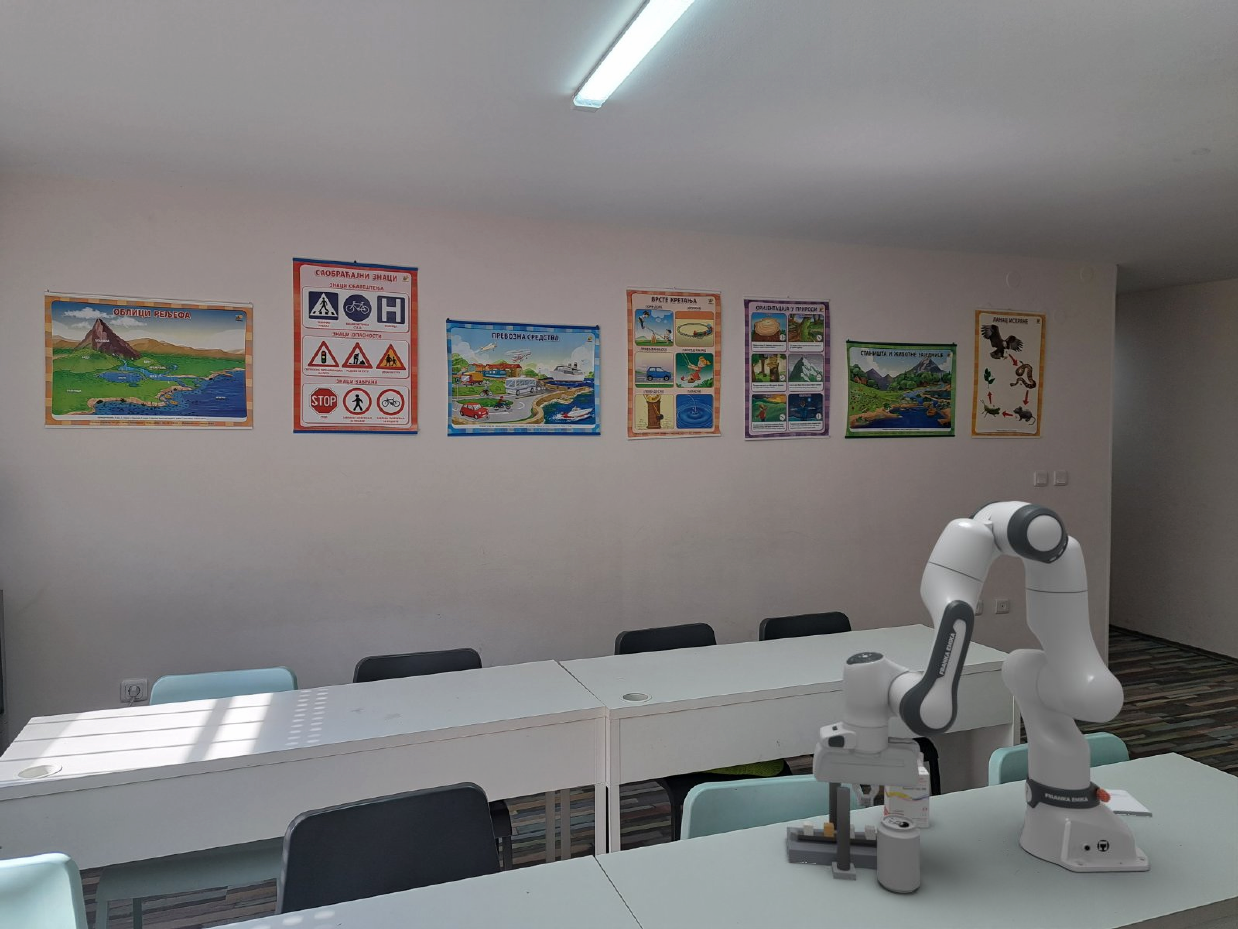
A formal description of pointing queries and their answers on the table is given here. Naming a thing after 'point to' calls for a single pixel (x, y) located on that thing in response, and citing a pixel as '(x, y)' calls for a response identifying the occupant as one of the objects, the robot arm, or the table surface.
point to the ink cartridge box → (910, 798)
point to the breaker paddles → (831, 836)
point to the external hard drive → (1125, 804)
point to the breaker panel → (828, 850)
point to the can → (898, 853)
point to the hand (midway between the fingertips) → (865, 805)
